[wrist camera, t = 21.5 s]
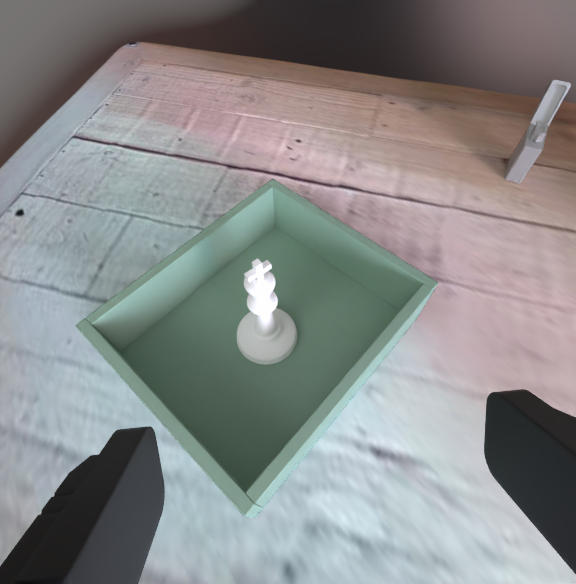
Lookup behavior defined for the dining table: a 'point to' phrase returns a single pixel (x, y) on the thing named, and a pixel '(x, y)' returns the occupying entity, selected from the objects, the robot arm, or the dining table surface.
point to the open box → (223, 337)
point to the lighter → (536, 132)
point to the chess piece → (264, 320)
